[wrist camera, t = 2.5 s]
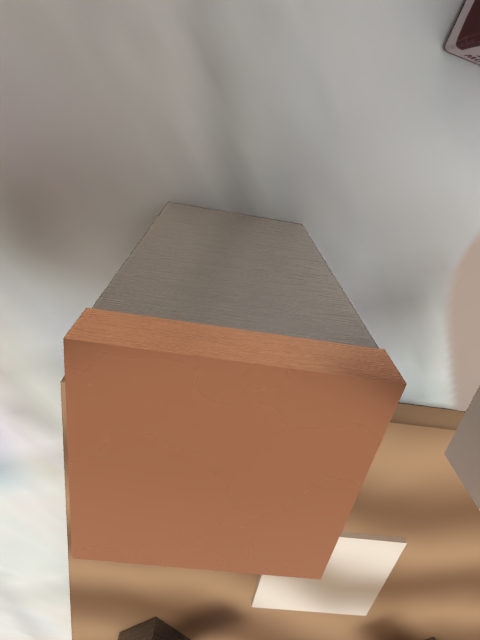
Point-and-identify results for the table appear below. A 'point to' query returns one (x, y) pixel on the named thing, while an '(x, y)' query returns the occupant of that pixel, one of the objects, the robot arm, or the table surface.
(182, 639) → the shaft
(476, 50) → the supplement box
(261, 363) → the block
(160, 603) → the cradle board
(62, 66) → the table surface
